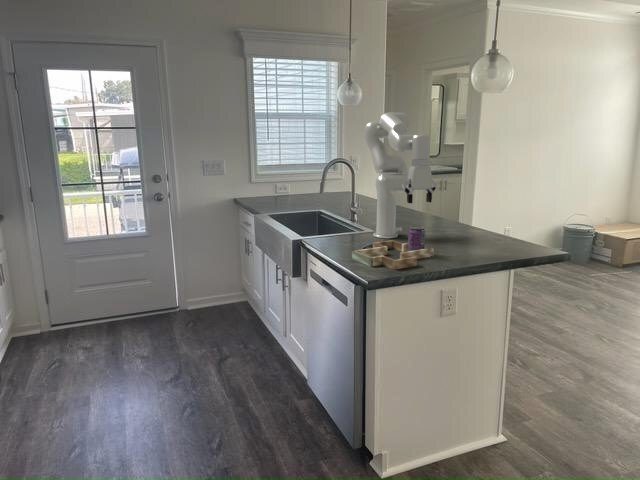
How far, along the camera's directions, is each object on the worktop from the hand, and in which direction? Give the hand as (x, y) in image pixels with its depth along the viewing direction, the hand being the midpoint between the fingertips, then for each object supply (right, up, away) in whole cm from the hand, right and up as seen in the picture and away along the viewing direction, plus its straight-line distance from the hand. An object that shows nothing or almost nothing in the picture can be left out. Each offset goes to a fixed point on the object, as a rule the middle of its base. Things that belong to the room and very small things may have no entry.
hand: (419, 202), depth 212 cm
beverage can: (-2, -23, -2) cm, 23 cm away
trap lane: (-12, -24, -8) cm, 28 cm away
